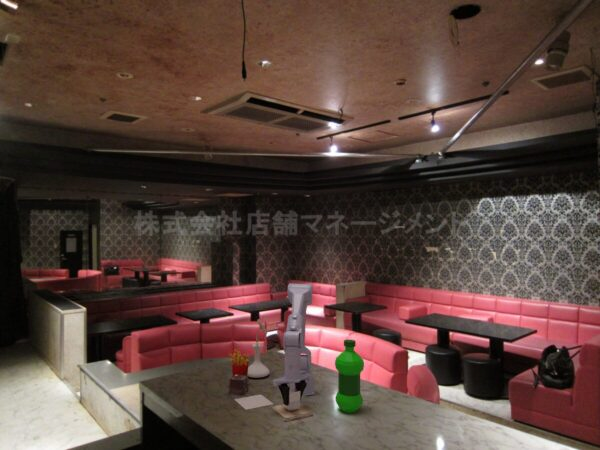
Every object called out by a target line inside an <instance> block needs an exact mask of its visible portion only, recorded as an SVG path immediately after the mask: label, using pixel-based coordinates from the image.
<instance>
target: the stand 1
mask: <svg viewBox="0 0 600 450" xmlns="http://www.w3.org/2000/svg"><path fill="white" fill-rule="evenodd" d="M234 401H235V402H237V403H238V404H239V405H240V406H241V407H242V408H244V410H250V409H251V410H252V409H255V408H261V407H266V406H272V405H274V403H273V402H271V401H270V400H269V399H268V398H266V397H265V396H264V395H262V394H255V395H250V396H246V397H239V398H234Z"/></svg>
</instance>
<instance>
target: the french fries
mask: <svg viewBox="0 0 600 450" xmlns="http://www.w3.org/2000/svg"><path fill="white" fill-rule="evenodd" d="M248 356H250V354H249V353H246V354H245V353H244V354H243V356H242V353H241V351H239V350H237V349H234V352H233V354H232V353H229V354H228V357H230V358H231V359H230V362H231V363H232V365H231V368H232V369H231V370H232V371H231V372H232V377H233V376H234V375H246V376H247V375H248V367H249V366H250V360H249V359H248V358H247V357H248Z"/></svg>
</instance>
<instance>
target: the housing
mask: <svg viewBox="0 0 600 450" xmlns="http://www.w3.org/2000/svg"><path fill="white" fill-rule="evenodd" d="M300 403H301V402H300V391H299V390H298V389H296V388H290V390H289V396H288V406H286V405H284V403H283V404H282V405H283V407H285V408H286V409H288V410H289V411H290V410H294V409H299V408H300Z"/></svg>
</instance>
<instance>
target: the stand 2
mask: <svg viewBox="0 0 600 450" xmlns="http://www.w3.org/2000/svg"><path fill="white" fill-rule="evenodd" d="M271 408H272V409H273V410H274V411H275V412H277V413H278V414H279V415H281V416H282V417H283V418H285V419H286V420H283V422H284V423H286V424H287V423H291V422H294V421H298V420H299V421H300V420H302V419H303V420H304V419H308V418H310V417H311V418H312V417H314V414H311V413H313V411H312V410H311V409H310V408H308V407H306V406H305V405H304V404H302V403H301V402H300V408H299V409H294V410H290V411H289V410H288V409H286V408H285V407H283V404H279V405H274V406H271ZM306 414H308V415H306ZM298 416H300V417H298ZM292 417H295V418H292ZM288 418H291V419H288Z"/></svg>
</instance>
